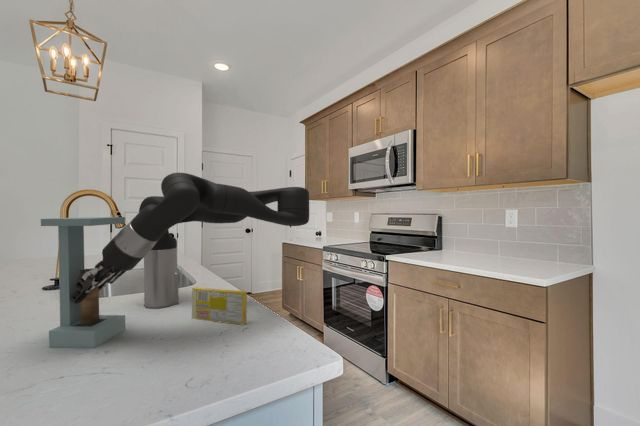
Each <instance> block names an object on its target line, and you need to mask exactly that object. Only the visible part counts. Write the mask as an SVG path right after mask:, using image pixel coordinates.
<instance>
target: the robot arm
mask: <svg viewBox="0 0 640 426" xmlns="http://www.w3.org/2000/svg"><path fill="white" fill-rule="evenodd" d="M160 185H161V186H160V187H161V188H160V189H161V193H162V195H163V196H158V195H156V196H154V195H151V196H147V197H146V198H144V199H143V200H142V201H141V203H140V205H139V208H138V209H139V210H138V213H137V214H136V215H135V216H134V217H133V218H132V219H131V221H129V223H127V224H126V225H125V226H123V228H121V229H120V230H119V231H118V232H117V234H116V235H115V236H113V238H112V239H111V240H110V241H109V242H108V243H107V244H106V245H105V246H104V248H103V249H102V252H101V254H102V260H100V261H99V262H97V263H96V264H95V265H94V267H93V268H94V269H92V270H91V271H89V270H88V269H89V268H84V270H83V271H82V272H81V273H80V275H79V277H78V279H77V281H76V282H75V284H74V286H75V287H76V288H77V290H76V291H75V292H74V293H73V294H72V295H71V296H70V299H71V300H72V301H73V302H74V303H75V304H77V303H80V302H81V301H82V300H83V298H84V297H85V296H86V295H87V294H88V293H89V292H91V290H93V289H94V288H95V287H96V286H99V292H100V291H101V290H102V289H103V288H106V287H107V286H108V284H110V285H111V284H113V283H115V282H116V281H117V280H118V279H119V278H121V277H122V276H123V275H124V274H125V273H126V272H127V271H131V270H133V269H134V268H135V267H136V266H137V265H138V264H139V263H140V262H141V261H142V260H143V288H144V289H143V291H144V292H143V293H144V296H143V297H144V298H143V301H144V307H145V308H150V309H155V308H156V309H157V308H166V307H170V306H173V305H176V304H180V298H179V297H180V296H179V272H178V239H177V238H176V237H173V236H172V235H171V234H170V231H169V229H171V228H172V227H174V226H176V225H177V224H183V223H190V222H200V223H208V224H235V223H238V222H241V221H243V220H245V219H246V218H253V219H256V220H259V221H264V222H267V223H272V224H277V225H280V226H281V225H282V226H286V227H300V226H304V225H307V224H308V223H309V221H310V192H309V189H307V188H306V187H301V186H290V187H289V186H288V187H287V186H286V187H280V188H279V187H278V188H273V189H266V190H265V189H264V190H256V191H255V190H254V191H249V190H246V189H245V188H242V187H238V186H235V185H229V184H222V183H216V182H213V181H212V180H211V181H210V180H208V179H205V178H202V177H199V176H197V175H194V174H190V173H186V172H172V173H170V174H168V175H166V176H165V177H164V178H163V179H162V181H161V184H160ZM275 202H277V210H276V209H275V210H274V209H272V208H270V207H269V206H268V205H269V204H271V203H275ZM95 277H96V278H97V279H98V280H97V279H96V278H95ZM91 283H92V285H91ZM90 285H91V286H90Z"/></svg>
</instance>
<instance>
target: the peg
mask: <svg viewBox="0 0 640 426" xmlns="http://www.w3.org/2000/svg"><path fill="white" fill-rule="evenodd" d="M94 268H95V267H93V268H87V269H88V270H89V271H91V270H92V269H94ZM84 269H85V268H84ZM84 269H83V270H84ZM83 270H80V273H81V272H82V271H83ZM95 278H96V277H95ZM96 279H97V278H96ZM97 280H98V279H97ZM91 285H92V283H91ZM91 285H90V286H91ZM99 293H100V291H99V286H96V287H95V288H94V289H93V290H91V292H89V293H88V294H87V295H86V296H85V297H84V298H83V300H82V301H81V302H80V303H81V324H82V325H87V324H93V323H96V322H98V321H99V315H100V294H99Z"/></svg>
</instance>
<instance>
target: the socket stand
mask: <svg viewBox="0 0 640 426" xmlns="http://www.w3.org/2000/svg"><path fill="white" fill-rule="evenodd" d="M119 224H120V225H121V224H122V225H123V224H126V217H125V216H112V217H111V216H108V217H107V216H103V217H102V216H99V217H98V216H97V217H96V216H94V217H93V216H89V217H87V216H86V217H85V216H83V217H59V218H56V217H54V218H40V227H57V229H58V230H57V231H58V235H57V236H58V277H59V278H58V279H59V283H58V286H59V322H60V323H59V324H60V325H59V326H57V327H55V328H52V329H50V330H48V347H49V348H79V349H81V348H88V349H89V348H91V349H94V348H97V347H99V346H101V344H104V343H105V342H106V341H108V340H110V339H112V338H113V337H115V336H117V335H118V334H120V333H122V332H124V331H125V330H126V315H124V314H121V315H120V314H99V321H98V322H96V323H93V324H87V325H82V324H81V303H77V304H75V303H74V302H73V301H72V300H71V299H70V296H71V295H72V294H73V293H74V292H75V291H76V290H77V288H76V287H75V286H74V284H75V282H76V281H77V279H78V277H79V275H80V270H83V269H85V230H84V228H85V227H94V226H107V225H119Z"/></svg>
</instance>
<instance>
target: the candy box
mask: <svg viewBox="0 0 640 426" xmlns="http://www.w3.org/2000/svg"><path fill="white" fill-rule="evenodd" d="M191 291H192V292H191V319H194V318H195V319H197V320H201V319H204V320H203V321H209V320H213V321H212V322H217V321H221V322H220V323H224V322H228V323H227V324H232V323H235V324H234V325H240V324H244V325H245V323H246V322H247V321H248V320H247V318H248V316H247V315H248V314H247V312H248V310H247V308H248V307H247V304H248V302H247V301H248V300H247V299H248V297H247V296H248V293H247V292H248V291H244V290H234V289H233V290H232V289H223V288H222V289H221V288H211V287H210V288H209V287H199V286H195V287H192V290H191ZM246 324H247V323H246Z"/></svg>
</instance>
